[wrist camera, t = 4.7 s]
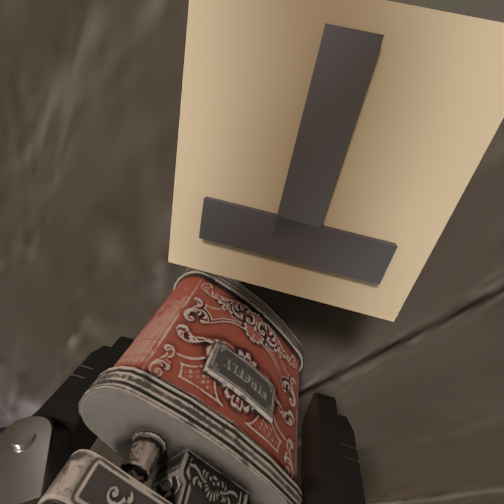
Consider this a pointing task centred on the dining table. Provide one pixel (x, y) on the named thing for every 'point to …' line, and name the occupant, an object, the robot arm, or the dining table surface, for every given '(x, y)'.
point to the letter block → (329, 142)
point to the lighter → (195, 406)
